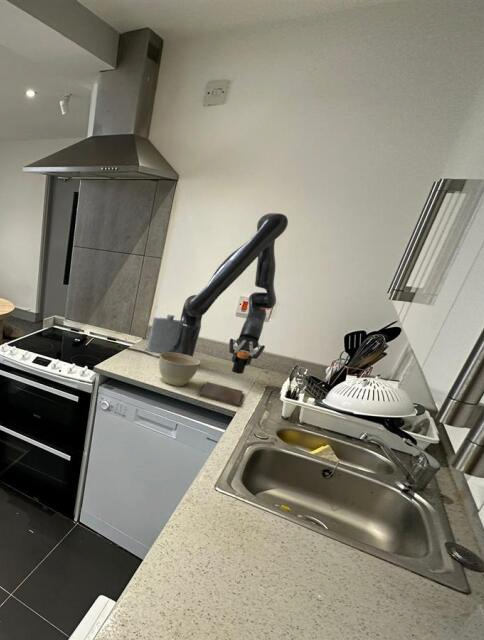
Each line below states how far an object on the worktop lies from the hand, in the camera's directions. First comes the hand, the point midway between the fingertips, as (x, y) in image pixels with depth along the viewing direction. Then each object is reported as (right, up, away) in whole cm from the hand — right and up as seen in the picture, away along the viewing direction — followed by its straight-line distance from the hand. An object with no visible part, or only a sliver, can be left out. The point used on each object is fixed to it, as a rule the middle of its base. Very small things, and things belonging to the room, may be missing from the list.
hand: (240, 363), depth 166 cm
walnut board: (-11, -13, -5) cm, 18 cm away
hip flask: (-17, +8, +42) cm, 46 cm away
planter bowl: (-27, -8, +4) cm, 28 cm away
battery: (+1, -4, +3) cm, 5 cm away
